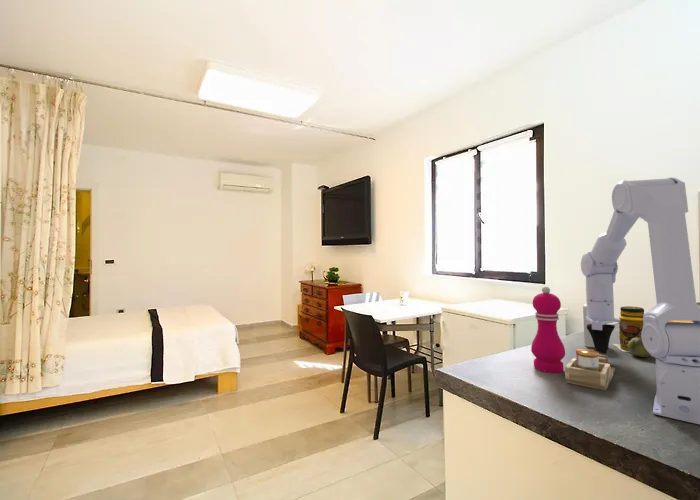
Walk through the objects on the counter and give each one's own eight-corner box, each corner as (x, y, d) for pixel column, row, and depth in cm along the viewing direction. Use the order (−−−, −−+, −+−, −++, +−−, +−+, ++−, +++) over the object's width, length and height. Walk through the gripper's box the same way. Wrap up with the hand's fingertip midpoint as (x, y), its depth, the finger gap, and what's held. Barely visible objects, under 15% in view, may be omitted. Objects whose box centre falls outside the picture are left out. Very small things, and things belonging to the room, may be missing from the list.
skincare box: (585, 341, 106) (584, 303, 106) (602, 343, 104) (601, 304, 104) (583, 346, 102) (582, 305, 102) (601, 348, 99) (600, 307, 99)
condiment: (623, 352, 95) (622, 309, 95) (612, 344, 103) (610, 304, 103) (656, 354, 93) (654, 309, 93) (641, 346, 101) (640, 305, 101)
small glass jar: (604, 379, 73) (603, 353, 73) (585, 380, 73) (585, 354, 73) (590, 373, 77) (589, 348, 77) (572, 373, 77) (571, 349, 77)
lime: (626, 353, 94) (626, 335, 94) (649, 355, 91) (649, 337, 91) (629, 358, 90) (629, 339, 90) (654, 360, 88) (653, 341, 88)
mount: (605, 391, 70) (604, 371, 70) (565, 383, 74) (564, 364, 74) (614, 372, 80) (613, 354, 80) (579, 365, 85) (578, 349, 85)
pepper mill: (531, 371, 82) (529, 287, 82) (531, 362, 88) (529, 285, 89) (567, 375, 79) (564, 288, 79) (564, 366, 85) (562, 285, 85)
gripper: (616, 305, 81) (618, 363, 81) (621, 298, 91) (623, 349, 91) (580, 303, 85) (582, 357, 85) (589, 296, 96) (591, 344, 96)
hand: (601, 353), depth 89 cm, fingers closed
